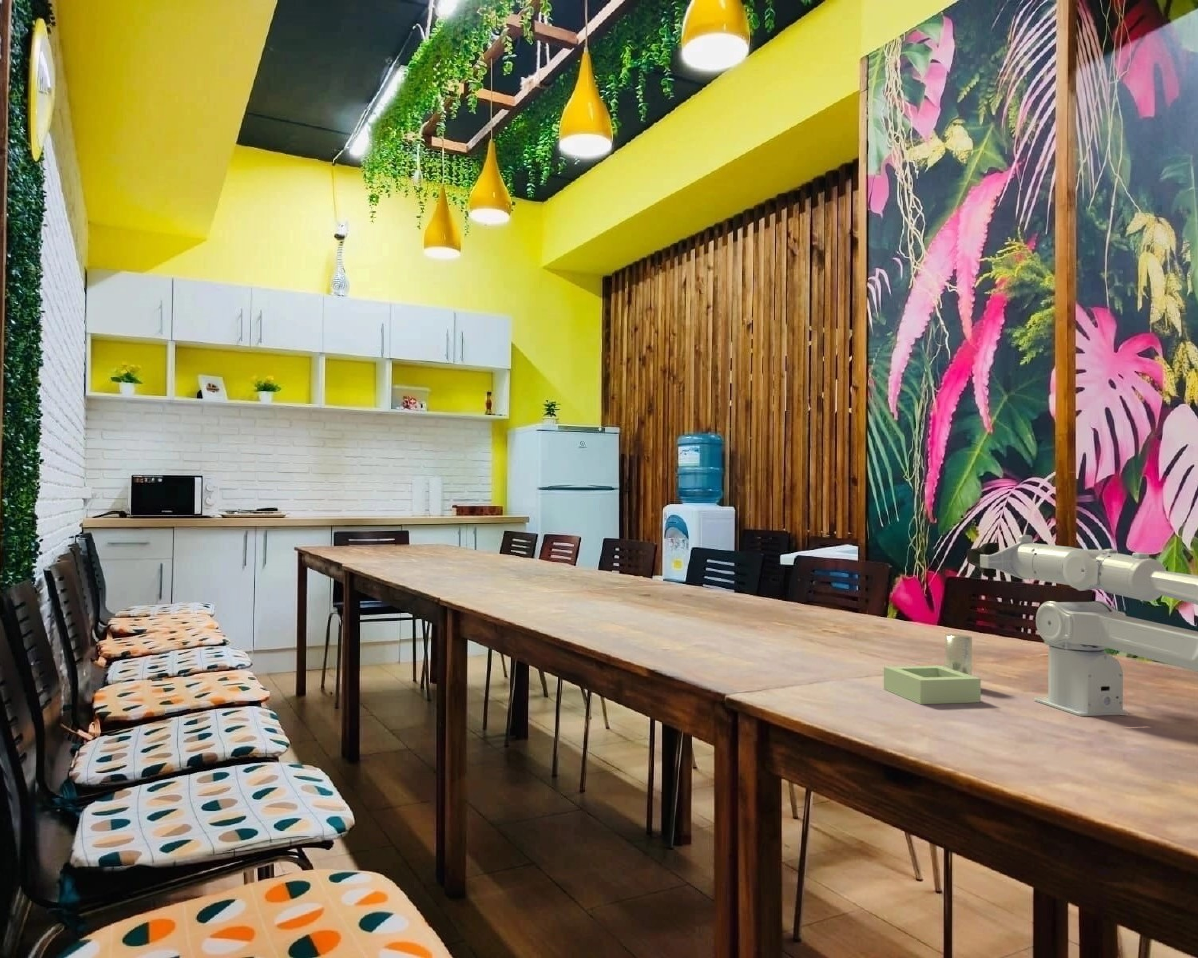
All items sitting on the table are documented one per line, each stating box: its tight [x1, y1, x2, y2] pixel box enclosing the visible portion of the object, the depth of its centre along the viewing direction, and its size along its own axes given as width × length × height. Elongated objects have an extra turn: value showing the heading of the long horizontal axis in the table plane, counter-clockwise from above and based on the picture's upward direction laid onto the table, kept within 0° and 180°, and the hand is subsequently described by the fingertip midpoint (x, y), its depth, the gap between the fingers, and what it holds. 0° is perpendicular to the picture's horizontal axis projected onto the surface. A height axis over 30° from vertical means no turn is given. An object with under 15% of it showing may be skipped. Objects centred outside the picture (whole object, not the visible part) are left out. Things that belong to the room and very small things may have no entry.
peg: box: [944, 633, 973, 676], centre depth 138 cm, size 4×4×8 cm
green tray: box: [883, 665, 982, 705], centre depth 130 cm, size 10×10×4 cm
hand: (988, 554), depth 144 cm, fingers open, 7 cm apart
